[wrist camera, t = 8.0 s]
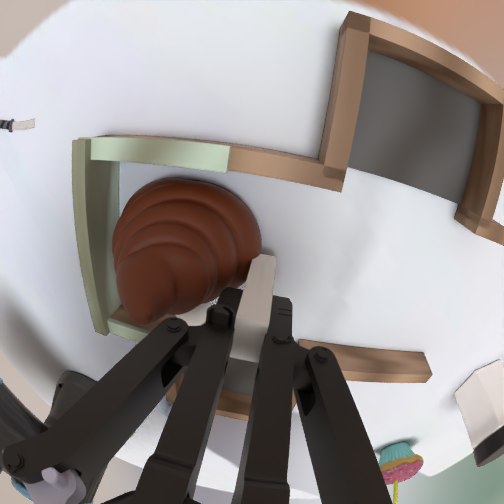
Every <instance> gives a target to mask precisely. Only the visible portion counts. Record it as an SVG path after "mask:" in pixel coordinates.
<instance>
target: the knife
mask: <svg viewBox="0 0 504 504" xmlns="http://www.w3.org/2000/svg"><path fill="white" fill-rule="evenodd" d="M34 127H35V119H31V120H27V121H21V122H14V119H12V120H10V121H5V120H0V128H2V129H9V132H12V130H28V129H31V128H34Z"/></svg>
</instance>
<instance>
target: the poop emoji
mask: <svg viewBox="0 0 504 504" xmlns="http://www.w3.org/2000/svg"><path fill="white" fill-rule="evenodd" d="M260 253H261V236H260V231H259V227H258V225H257V222H256V220H255V218H254V216H253V214H252V213H251V211H250V210H249V209H248V207H247V206H246V205H245V204H244V203H243V202H242V201H241V200H240V199H239V198H237V197H236V196H235V195H233V194H232V193H230V192H229V191H227V190H225V189H223V188H221V187H218V186H216V185H213V184H209V183H205V182H199V181H190V180H186V179H181V178H165V179H160V180H156V181H153V182H151V183H149V184H147V185H145V186H143V187H142V188H141V189H139V190H138V191H137V192H136V193H135V194H134V195H133V196H132V197H131V198H130V200H129V201H128V203H127V204H126V206H125V208H124V210H123V213H122V215H121V217H120V218H119V220H118V222H117V224H116V227H115V229H114V233H113V237H112V254H113V258H114V269H115V273H116V284H117V290H118V294H119V297H120V300H121V302H122V305H123V307H124V309H125V311H126V312H127V314H128V315H129V317H130V318H131V319H132V320H133V321H134V322H135V323H137V324H138V325H141V326H146V325H149V324H151V323H153V322H155V321H157V320H159V319H160V318H162V317H164V316H165V315H176V317H177V318H181V319H183V320H184V321H186V323H187V324H188V326H200V325H202V324H203V323H204V322H205V321H206V312H207V309H208V308H209V307H210V306H211V302H210V301H212V300H214V299H216V298H217V297H218V296H220V294H221V292H222V290H224V289H225V288H226V287H232V288H238V287H239V286H240V285H242V284H243V283H244V282H245V281H246V280H247V277H248V273H249V270H250V266H251V263H252V259H254V258H256V257H258V256H259V255H260Z"/></svg>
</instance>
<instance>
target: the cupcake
mask: <svg viewBox="0 0 504 504" xmlns="http://www.w3.org/2000/svg"><path fill="white" fill-rule="evenodd" d="M378 464H379V467H380V470H381V472H382V475H383V478H384V481H385V484H386V485H389V484H393V483H394V495H393V497H394V498H393V503H394V504H396V503H397V497H398V496H397V495H398V482H402V481H405V480H406V479H410V478H411V477H412V476H413V475H415V474H416V473H417V472H418V470H420V469H421V467H422V465H423V459H422V457H421V456H419V455H417V454H416V455H415V454H414V453H413V451H412V450H411V448H410V447H409V445H408V443H406V442H401V443H396V444H393V445H390V446H388V447H386V448H384V449H383V450H382V451H381V456H380V460H379V463H378Z"/></svg>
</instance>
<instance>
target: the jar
mask: <svg viewBox="0 0 504 504" xmlns="http://www.w3.org/2000/svg"><path fill="white" fill-rule="evenodd" d="M454 395H455V398H456V401H457V403H458V406H459V409H460V411H461V414H462V417H463V420H464V423H465V426H466V429H467V432H468V435H469V439H470V442H471V445H472V448H473V450H474V451H473V453H474V457H475V461H476V465H477V467H480V466H483V465H485V464H487V463H489V462H491V461H493V460H495V459H496V458H498V457H500V456H501V455H502V454H504V366H503V364H502V362H501V361H500V360H497V361H495V362H493V363H491V364H489V365H487V366H484V367H482V368H480V369H478V370H476V371H474V373H473V374H472V375H471V376H470V377H469V378H468V379H467V380H466V381H465V382H464V383H463V385H462V386H461V387H460V388H459V389H458V390H457V391H456V392H455V393H454Z"/></svg>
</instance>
